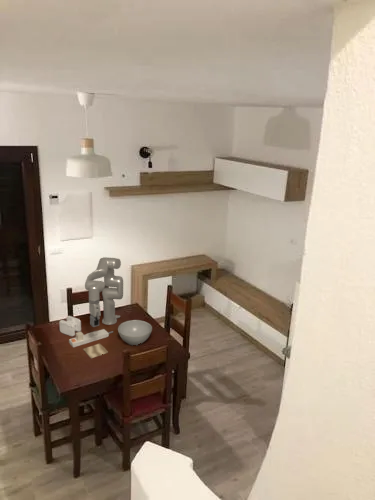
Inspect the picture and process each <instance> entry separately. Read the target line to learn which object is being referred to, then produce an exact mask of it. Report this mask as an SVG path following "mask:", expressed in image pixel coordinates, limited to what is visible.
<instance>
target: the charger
mask: <svg viewBox="0 0 375 500" xmlns="http://www.w3.org/2000/svg"><path fill="white" fill-rule="evenodd" d="M96 316H97V315H96ZM96 318H97V317H96ZM94 320H95V319H94V316H91V315H90V316H89V324H90V326H91V327H93V328H96V327H99V326H100V323H99V324H98V325H94Z"/></svg>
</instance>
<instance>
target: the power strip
mask: <svg viewBox="0 0 375 500" xmlns="http://www.w3.org/2000/svg"><path fill="white" fill-rule="evenodd" d="M112 333H114V331H113V330H112V331H107V330H106V329H105V328H102V329H99V330H94V331H91V332H88V333H86V334H84V333H83V332H82V331H80V332H75V336H74V337H72V338H70V339H68V343H69V345H70V346H71V347H72V348H76V347H79V346H82V345H86V344H89V343H92V342H96V341H98V340H101V339H105V338H108V337H109V335H110V334H112Z"/></svg>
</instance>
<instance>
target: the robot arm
mask: <svg viewBox="0 0 375 500" xmlns="http://www.w3.org/2000/svg"><path fill="white" fill-rule="evenodd" d="M121 265H122V262H121V259H120V258H118V257H117V258H116V257H106V256H105V257H104V256H103V257H100V259H99V261H98V264H97V266H96V269H95V270H93V271H92V272H91V273H90V274H89V273H88V276H87V278H86V280H85V283H84V288H85V290H87V291H88V304H89V305H88V307H89V308H88V309H89V312H88V313H89V314H90V316H94V319H95V320H94V325H98V324H99V325H100V318H101V312H102V311H101V306H100V302H101V301H100V300H101V299H100V293H101V292H102V293H101V295H102V299H103V300H102V301H103V318H102V320H101V323H102V324H104V325H107V326H110V325H115V324H116V323H117V322H118V319H119V318H121V315H120V314H119V315H118V314H116V302H115V301H114V300H122V299H123V298H124V278H123V276H121V275H115V270H119V269H120V268H121ZM102 278H103V280H98V279H102ZM96 315H97V316H96ZM96 317H97V318H96Z"/></svg>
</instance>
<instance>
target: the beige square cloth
mask: <svg viewBox="0 0 375 500" xmlns="http://www.w3.org/2000/svg"><path fill="white" fill-rule="evenodd" d="M82 350H83V352H85V354H86V355H87V356H88V357H89V358H90V359H93V358H97V357H99V356H102V354H103V355H105V354H108V353H109V351H108V350H107V348H105V346H103V344H101V343H97V344H94V345H91V346H87V347H85V348H82Z"/></svg>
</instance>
